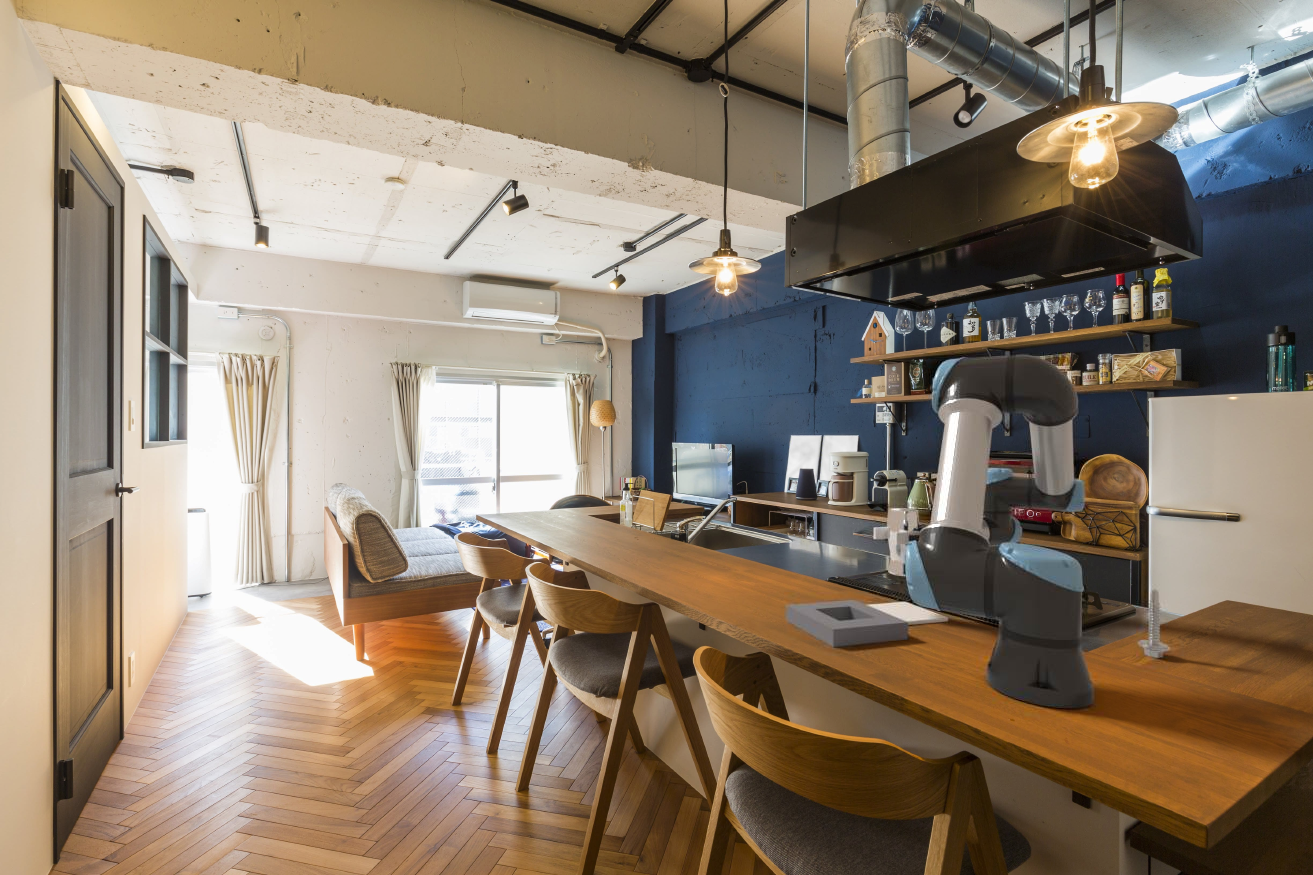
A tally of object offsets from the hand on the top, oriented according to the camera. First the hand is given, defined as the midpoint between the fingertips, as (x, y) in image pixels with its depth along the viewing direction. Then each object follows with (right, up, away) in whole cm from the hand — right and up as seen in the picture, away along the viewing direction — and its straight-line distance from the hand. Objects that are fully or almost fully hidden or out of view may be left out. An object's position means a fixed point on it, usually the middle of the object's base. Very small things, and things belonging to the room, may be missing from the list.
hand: (884, 535), depth 142 cm
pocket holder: (-13, -18, -10) cm, 25 cm away
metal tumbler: (+5, -9, +2) cm, 10 cm away
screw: (+43, -20, -24) cm, 53 cm away
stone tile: (+4, -19, +2) cm, 19 cm away
